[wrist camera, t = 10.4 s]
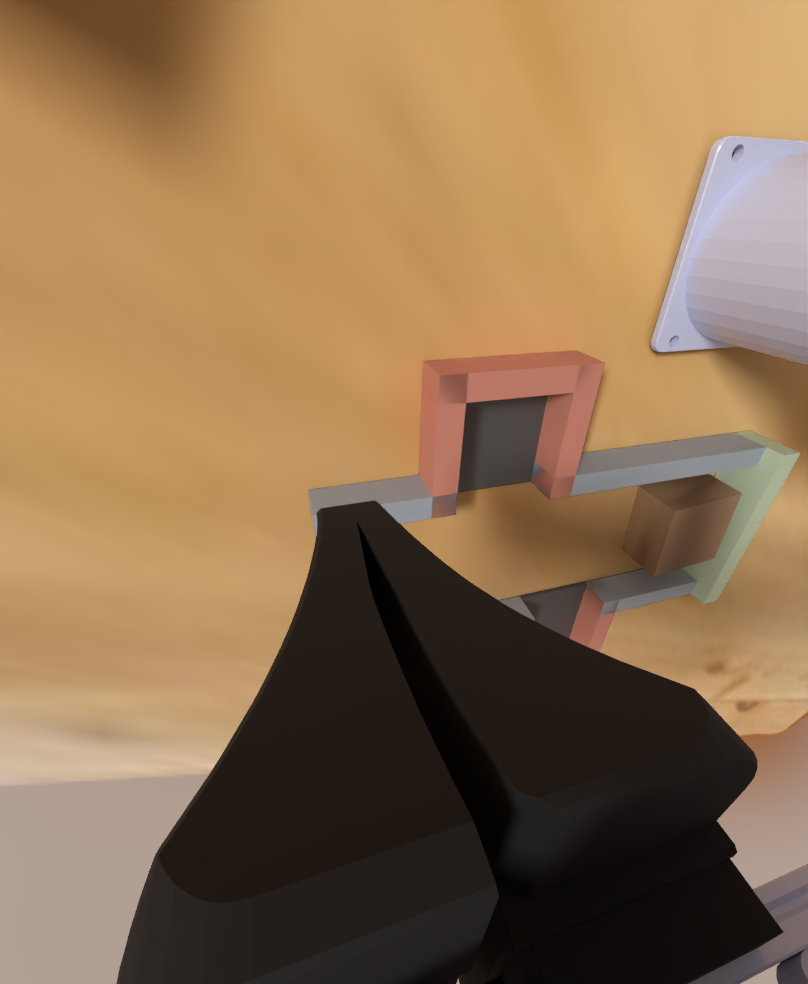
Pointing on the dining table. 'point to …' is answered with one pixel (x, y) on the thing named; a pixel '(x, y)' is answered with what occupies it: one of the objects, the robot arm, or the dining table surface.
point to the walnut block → (679, 522)
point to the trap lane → (564, 473)
